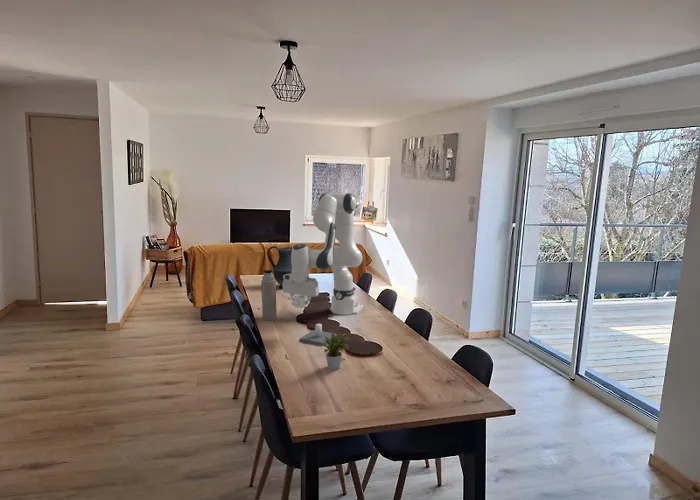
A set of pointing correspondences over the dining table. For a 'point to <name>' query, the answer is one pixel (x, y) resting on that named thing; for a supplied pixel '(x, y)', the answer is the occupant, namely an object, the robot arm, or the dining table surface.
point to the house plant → (334, 351)
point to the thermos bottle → (268, 296)
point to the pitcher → (281, 264)
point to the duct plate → (314, 339)
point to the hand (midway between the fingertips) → (300, 302)
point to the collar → (299, 301)
